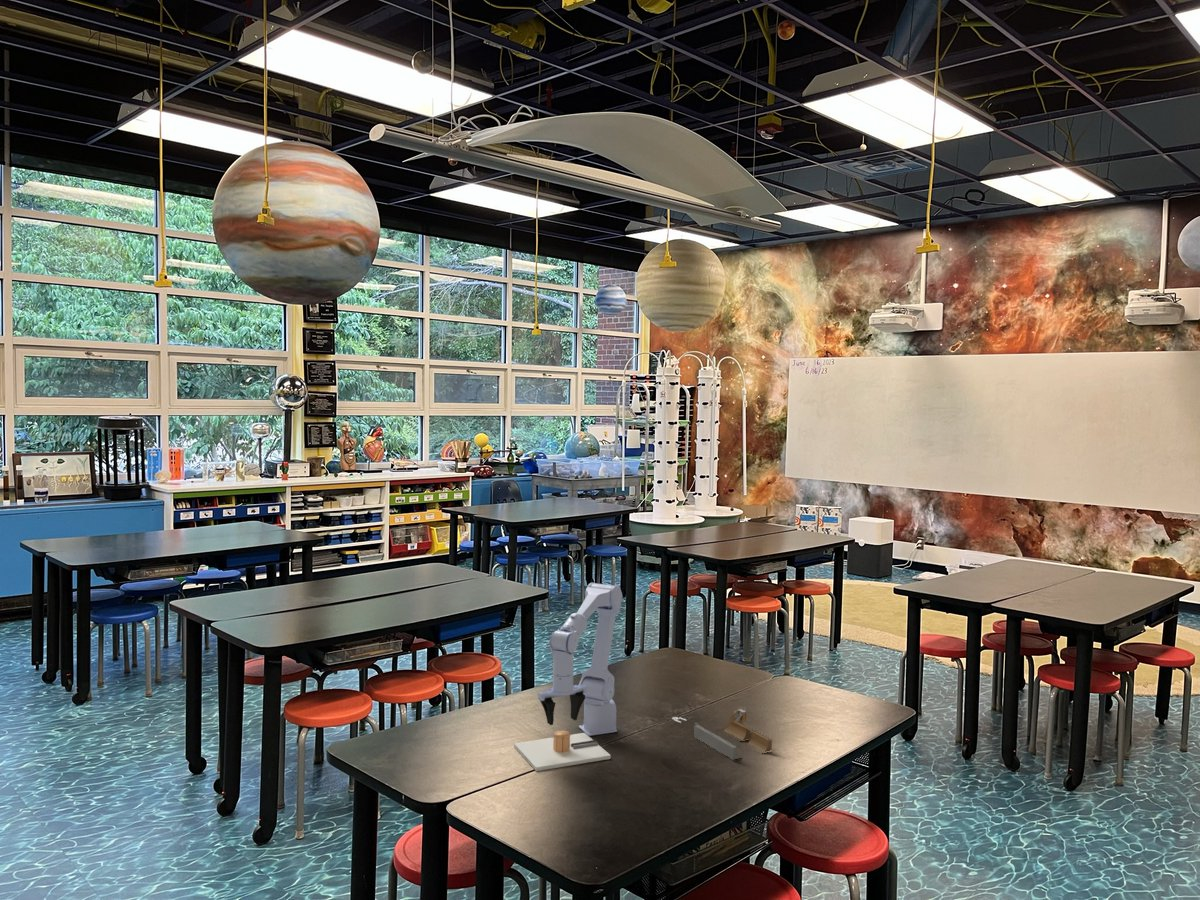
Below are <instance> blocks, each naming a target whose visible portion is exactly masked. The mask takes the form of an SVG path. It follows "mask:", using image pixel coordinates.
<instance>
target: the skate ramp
mask: <svg viewBox="0 0 1200 900" xmlns="http://www.w3.org/2000/svg"><path fill="white" fill-rule="evenodd" d="M736 713H737V715H736ZM693 729H694V730H693V731H694V732H693V733H694V734H693V738H694V737H695V738H694V739H696V738H697V739H698V741H699V740H700V741H699V742H701V741H702V742H704V743H705V744H704V743H703V744H704V745H706V744H707V745H709V746H710V747H709V746H708V747H709V748H711V747H712V748H714V749H716V750H717V751H719V752H721V753H723V754H724V755H726V756H728V757H730V758H731V759H736V758H740V757H741V756H740V755H739V754H738V752H737V746H736V745H735V743H732V742H730V741H728V740H726V739H724V738H723V737H721V736H719V735H718V734H717V735H716V733H713V732H712V731H710V730H708V729H707V728H705V727H703V726H702V725H700V724H698V722H694V727H693ZM723 731H725V732H727V733H729V734H732V735H734V736H735V737H737V738H739V739H741V740H746V739H750V740H749V741H747V743H749V744H751V745H753V746H755V747H757V748H759V749H760V750H762V751H765V752H766V751H770V750H773V749H772V747H773V746H772V745H773V743H772V742H773V739H772V738H770V737H771V735H769V734H768V733H766V732H765V733H764V732H763V731H762V730H759V731H760V732H759V731H757V730H755V729H754V726H751V727H749V726H747V708H746V707H743V706H738V707H737V709H734V710H733V711H732V712H731V715H730V718H729V721H728V724H727V726H726V728H725V729H724V730H723ZM750 736H751V737H750ZM697 739H696V740H697ZM702 742H701V743H702ZM707 745H706V746H707ZM712 748H711V749H712ZM714 749H713V750H714ZM716 750H715V751H716ZM717 751H716V752H717ZM719 752H718V753H719ZM721 753H720V754H721ZM724 755H723V756H724ZM726 756H725V757H726ZM739 756H740V757H739Z"/></svg>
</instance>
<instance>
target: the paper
mask: <svg viewBox="0 0 1200 900" xmlns="http://www.w3.org/2000/svg"><path fill="white" fill-rule="evenodd" d="M671 719H672V720H673V721H675V722H677V723H678V724H679V723H680V724H682V721H680V720H683V721H686V722H687V721H688V719H686V718H682V717H681V716H680V717H678V716H673V717H672V718H671Z"/></svg>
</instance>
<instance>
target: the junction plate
mask: <svg viewBox="0 0 1200 900" xmlns="http://www.w3.org/2000/svg"><path fill="white" fill-rule="evenodd" d="M553 742H554V736H553V737H546V738H541V739H540V738H539V739H535V740H527V741H526V740H525V741H521V742H515V743H513V747H514V748H515V749H516V751H517V752H518V753H519V755H521V757H522V758H524V760H525V761H526V762H527V763H528V764H529V765H530V766H531V767H532V769H533V770H534V771H535V772H540V771H545V770H552V769H556V768H563V767H569V766H574V765H575V766H577V765H581V764H588V763H593V762H594V763H595V762H599V761H604V760H610V759H611V754H610V753H609V752H607V751H606V750H605V749H604V748H603V747H602V746H601V745H599V742H598V741H596V740H595V739H592V737H591V736H588V735H587V734H586V733H585V732H582V733H574V734H570V750H569V751H567V752H556V751H554V750H553Z"/></svg>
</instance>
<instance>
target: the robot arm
mask: <svg viewBox="0 0 1200 900" xmlns="http://www.w3.org/2000/svg"><path fill="white" fill-rule="evenodd" d="M584 596H585V597H584V600H583V601H582V603H581V605H580V607H579V609H578V610H577V612H574V613H573V612H572V613H571V614H570V615H569V617H568V618H567V619H566V620H565V622H564V623H563V625H562V626H561V628H560V629H559V630H555V631H553V632H552V633H551V635H550V638H549V642H548V644H549V645H548V646H549V649H550V655H551V658H552V687H550V688H548V689H545V690H542V691H538V692H537V693H538V695H537V696H538V697H537V699H538V700H539V701H540V703H541V706H542V708H543V710H544V714H545V717H546V722H547V724H548V725H549V726H553V725H554V714H555V707H556V704H557V703H556V702H555V701H554V700H553V699H554V698H555V699H556V698H560V697H567V696H569V699H570V700H569V701H570V718H571V720H573V721H577V720H578V716H579V712H580V709H581V707H582V704H584V705H583V724H582V725H581V724H579V725H578V728H579V729H580V730H581V731H582V732H583V733H585V734H587V735H588V736H589V737H591V736H598V735H605V734H610V733H617V732H618V730H617V705H616V703H615V701H614V698H613V697H614V696H615V676H614V675H613V674H612V673H611V672H610V671H609V669H608V666H609V659H610V656H611V655H610V653H611V647H612V642H613V641H612V639H613V636H614V635H613V634H614V627H615V623H616V615H618V614H620V612H621V607H622V600H623V592H622V589H621V588H620V586H619V585H616V584H615V585H612V584H603V583H596V582H593V581H592V582H590V583H588V585H587V587H586V589H585V593H584ZM594 612H597V614H598V620H597V626H596V633H595V640H594V644H593V645H594V646H593V651H592V658H591V662H590V663H591V664H590V667H589V668H587V669H586V670H584V671H582V674H581V678H580V681H579V683H578V684H574V653H575V651H577V649H578V645H579V642H580V637H581V636H582V634H583V632H584V631H585V630H586V629H587V628H588V627H587V626H588V619H590V617H591V616H592V614H593V613H594Z"/></svg>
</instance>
